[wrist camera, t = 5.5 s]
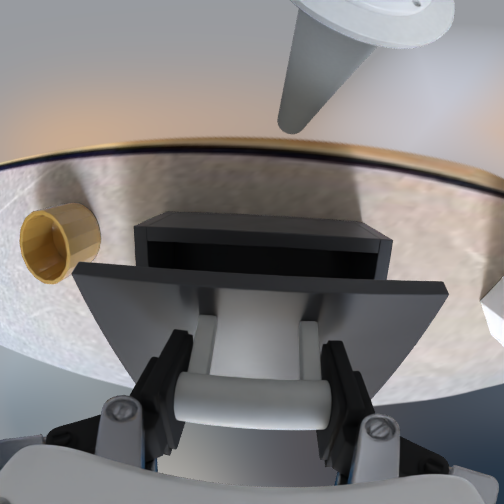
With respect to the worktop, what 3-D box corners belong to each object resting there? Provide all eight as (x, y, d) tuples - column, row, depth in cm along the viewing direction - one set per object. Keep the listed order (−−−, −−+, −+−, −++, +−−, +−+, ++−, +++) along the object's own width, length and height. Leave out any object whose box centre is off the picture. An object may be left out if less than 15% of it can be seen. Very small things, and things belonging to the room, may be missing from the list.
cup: (58, 194, 23) (24, 201, 19) (107, 214, 24) (75, 225, 19) (49, 251, 25) (17, 266, 20) (94, 275, 25) (65, 295, 21)
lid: (78, 260, 11) (23, 359, 7) (443, 280, 11) (484, 386, 7) (153, 397, 21) (140, 455, 17) (352, 409, 20) (357, 469, 16)
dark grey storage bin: (166, 211, 23) (133, 226, 17) (362, 221, 23) (393, 240, 17) (174, 355, 27) (154, 398, 21) (338, 365, 27) (352, 410, 20)
